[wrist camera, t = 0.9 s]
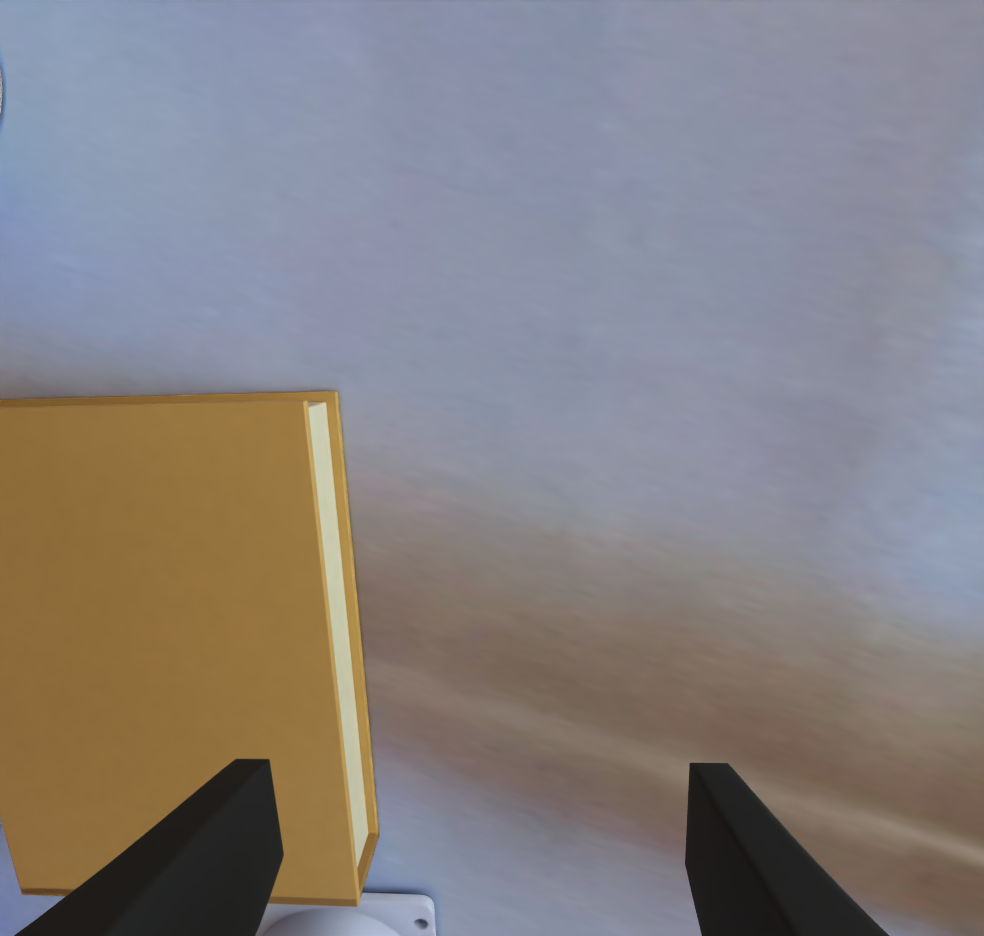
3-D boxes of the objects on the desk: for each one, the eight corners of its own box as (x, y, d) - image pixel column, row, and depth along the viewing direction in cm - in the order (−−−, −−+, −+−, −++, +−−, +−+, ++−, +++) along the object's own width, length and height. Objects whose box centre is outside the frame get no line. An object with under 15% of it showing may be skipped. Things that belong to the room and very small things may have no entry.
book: (379, 835, 21) (358, 907, 19) (83, 826, 22) (21, 895, 20) (338, 390, 18) (303, 401, 15) (-20, 399, 18) (-115, 410, 16)
